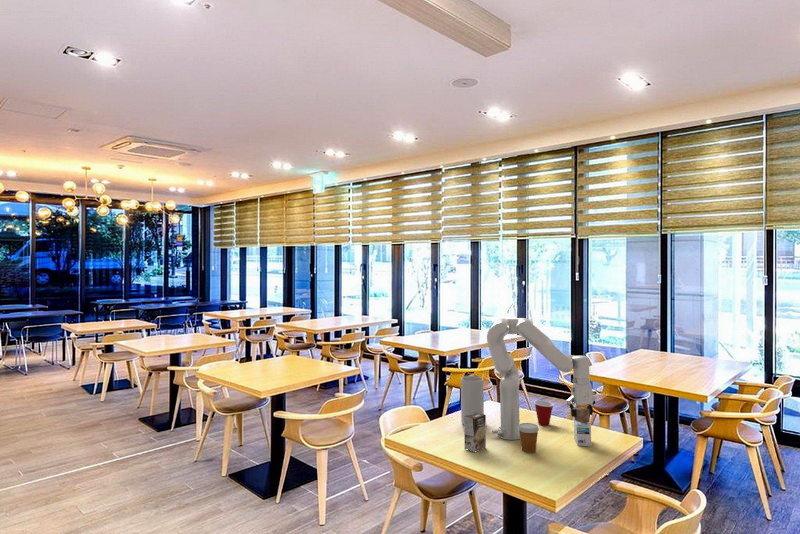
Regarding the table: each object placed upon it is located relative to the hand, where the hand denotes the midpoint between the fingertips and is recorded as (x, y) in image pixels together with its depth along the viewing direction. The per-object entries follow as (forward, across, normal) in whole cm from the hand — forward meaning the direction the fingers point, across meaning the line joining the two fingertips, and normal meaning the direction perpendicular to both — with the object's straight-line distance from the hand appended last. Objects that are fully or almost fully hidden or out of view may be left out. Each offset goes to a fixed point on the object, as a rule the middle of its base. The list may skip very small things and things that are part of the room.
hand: (581, 415), depth 244 cm
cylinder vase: (+13, -36, +47) cm, 61 cm away
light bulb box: (+14, 0, 0) cm, 14 cm away
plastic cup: (+13, 0, +31) cm, 34 cm away
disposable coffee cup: (+13, -31, 0) cm, 34 cm away
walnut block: (+3, 0, 0) cm, 3 cm away
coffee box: (+13, -53, +12) cm, 56 cm away
